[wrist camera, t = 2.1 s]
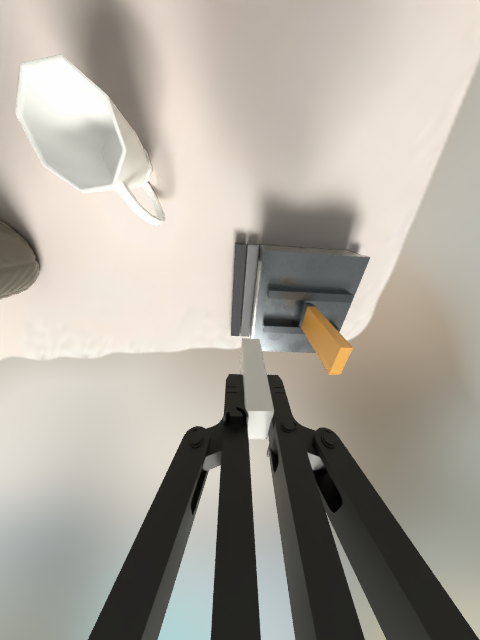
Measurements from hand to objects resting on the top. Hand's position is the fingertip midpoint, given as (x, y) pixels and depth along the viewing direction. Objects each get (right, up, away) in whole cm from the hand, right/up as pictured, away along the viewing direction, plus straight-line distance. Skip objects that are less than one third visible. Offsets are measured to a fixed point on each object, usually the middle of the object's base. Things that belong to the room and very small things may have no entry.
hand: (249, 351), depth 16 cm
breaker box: (+7, +7, +12) cm, 15 cm away
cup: (-12, +19, +4) cm, 23 cm away
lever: (+7, +3, +6) cm, 10 cm away
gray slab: (-1, +7, +11) cm, 13 cm away
